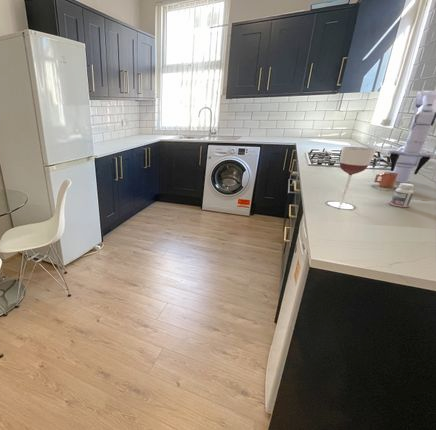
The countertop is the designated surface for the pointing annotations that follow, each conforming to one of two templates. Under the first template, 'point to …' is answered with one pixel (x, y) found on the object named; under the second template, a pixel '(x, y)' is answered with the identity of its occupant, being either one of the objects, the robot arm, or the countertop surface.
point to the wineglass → (353, 167)
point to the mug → (387, 179)
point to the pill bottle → (403, 195)
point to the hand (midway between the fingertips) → (403, 172)
